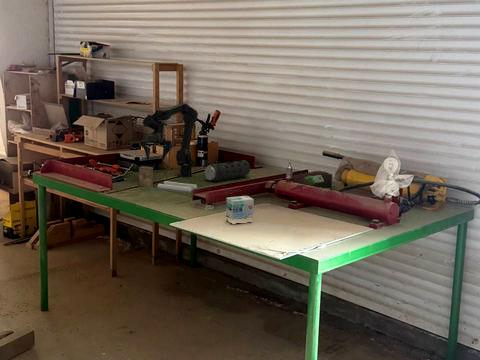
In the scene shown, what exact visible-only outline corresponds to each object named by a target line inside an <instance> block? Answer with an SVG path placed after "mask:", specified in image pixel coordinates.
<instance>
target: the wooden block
mask: <svg viewBox="0 0 480 360" xmlns="http://www.w3.org/2000/svg"><path fill="white" fill-rule="evenodd" d="M138 183H139V185H138V186H140V187H141V186H142V187H148V188H149V187H153V186H154V167H152V166H151V167H150V166H139V167H138Z"/></svg>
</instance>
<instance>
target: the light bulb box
mask: <svg viewBox="0 0 480 360" xmlns="http://www.w3.org/2000/svg"><path fill="white" fill-rule="evenodd" d="M225 202H226V204H225V205H226V207H225V218H226V217H228V218H230V219H232V220H234V219H246V218H253V219H254V203H255V200H254V198H252V197H250V196H249V195H241V196H231V197H226V201H225Z"/></svg>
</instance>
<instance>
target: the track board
mask: <svg viewBox="0 0 480 360" xmlns="http://www.w3.org/2000/svg"><path fill="white" fill-rule="evenodd" d="M196 188H198V185H197V184H193V183H182V182H175V181H166V180H164V181H163V183H158V184H157V187H156V190H161V191H165V192H166V191H167V192H173V193H174V192H175V193H182V194H183V193H184V194H191V193H193V192H194V191H193V190H194V189H196ZM198 189H199V188H198ZM192 191H193V192H192Z"/></svg>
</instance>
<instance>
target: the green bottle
mask: <svg viewBox="0 0 480 360" xmlns="http://www.w3.org/2000/svg"><path fill="white" fill-rule="evenodd" d="M291 176H292V178H293V180H294V181H295V182H298V183H302V184H307V185H312V186H318V187H322V188H331V189H332V184H333V183H332V182H333V173H330V172H326V171H324V170H323V171H322V170H314V171H311V172H310V171H309V172H304V173H300V174H296V175H295V174H294V175H291ZM286 177H287V176H284V177H283V176H282V177H281V178H282V179H285V178H286ZM282 179H281V180H282Z"/></svg>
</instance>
